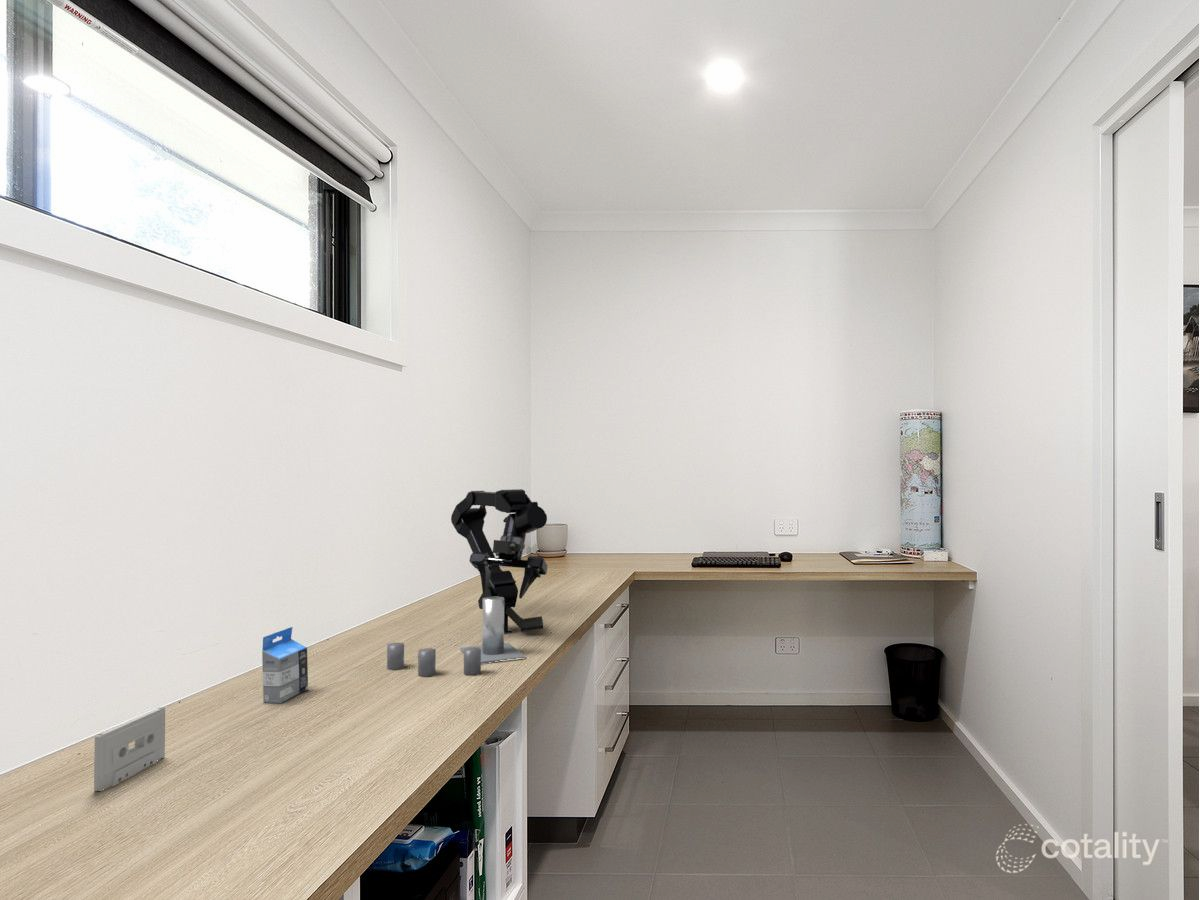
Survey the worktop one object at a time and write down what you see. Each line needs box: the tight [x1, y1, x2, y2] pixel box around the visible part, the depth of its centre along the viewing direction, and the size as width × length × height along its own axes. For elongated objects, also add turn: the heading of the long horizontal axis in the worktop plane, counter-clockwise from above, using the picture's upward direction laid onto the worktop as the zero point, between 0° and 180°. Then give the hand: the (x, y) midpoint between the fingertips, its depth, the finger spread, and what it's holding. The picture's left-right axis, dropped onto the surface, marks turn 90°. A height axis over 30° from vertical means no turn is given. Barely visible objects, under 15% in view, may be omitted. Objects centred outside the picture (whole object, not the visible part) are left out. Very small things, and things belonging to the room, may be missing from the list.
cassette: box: [93, 707, 166, 792], centre depth 104 cm, size 12×2×8 cm, turn 171°
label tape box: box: [261, 626, 309, 704], centre depth 139 cm, size 9×4×12 cm, turn 168°
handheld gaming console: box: [506, 607, 544, 632], centre depth 191 cm, size 11×10×4 cm
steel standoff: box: [481, 596, 505, 655], centre depth 169 cm, size 5×5×12 cm
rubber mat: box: [459, 642, 526, 665], centre depth 168 cm, size 14×12×1 cm
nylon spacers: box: [386, 642, 482, 678], centre depth 154 cm, size 7×22×5 cm, turn 77°
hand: (502, 596), depth 176 cm, fingers open, 9 cm apart
